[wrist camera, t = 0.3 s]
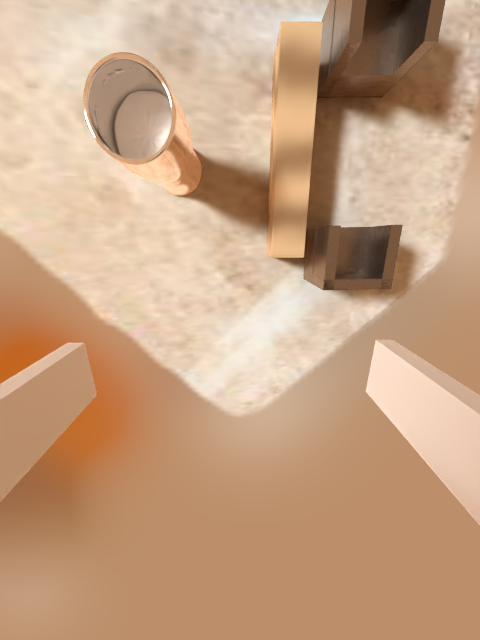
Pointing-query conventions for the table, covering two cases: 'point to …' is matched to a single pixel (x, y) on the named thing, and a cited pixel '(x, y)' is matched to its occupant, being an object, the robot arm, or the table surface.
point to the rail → (292, 135)
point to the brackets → (366, 81)
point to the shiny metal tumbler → (141, 122)
